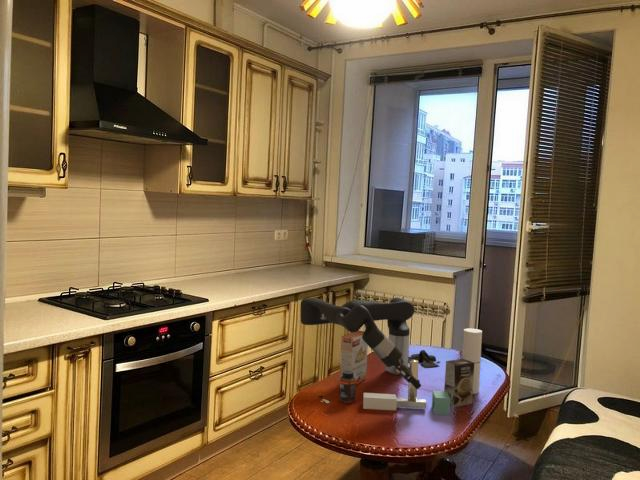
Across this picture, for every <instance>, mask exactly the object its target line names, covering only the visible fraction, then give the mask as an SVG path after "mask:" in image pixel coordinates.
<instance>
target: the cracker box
mask: <svg viewBox="0 0 640 480" xmlns="http://www.w3.org/2000/svg"><path fill="white" fill-rule="evenodd" d="M364 331H365V330H364ZM364 331H363V330H360V329H359V330H358V331H357V332H349V333H348V334H347V333H346V334H344V335H341V342H340V359H339V360H340V363H339V364H340V365H339V379H340V378H341V377H342V376H343V371H346V370H350V371H353V377H355V379H356V386H357V385H359V384H360V382H361V383H363V382H364V381H366V380H367V367H368V349H369V346H368V345H367V344H366V343H365V342H364V340H363V339H362V335H363V333H364ZM365 379H366V380H365ZM363 380H364V381H363ZM338 382H339V386H340V380H339V381H338Z"/></svg>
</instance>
